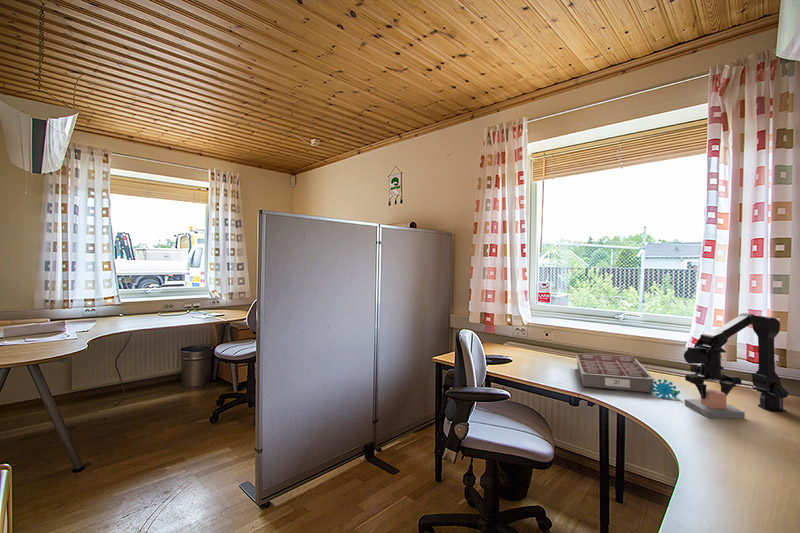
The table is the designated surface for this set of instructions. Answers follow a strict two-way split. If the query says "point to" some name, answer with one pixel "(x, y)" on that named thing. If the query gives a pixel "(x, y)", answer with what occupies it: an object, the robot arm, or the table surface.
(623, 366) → the organizer tray
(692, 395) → the table surface
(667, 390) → the blue spiky toy
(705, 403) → the salmon pink cube
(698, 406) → the plinth
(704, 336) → the robot arm
